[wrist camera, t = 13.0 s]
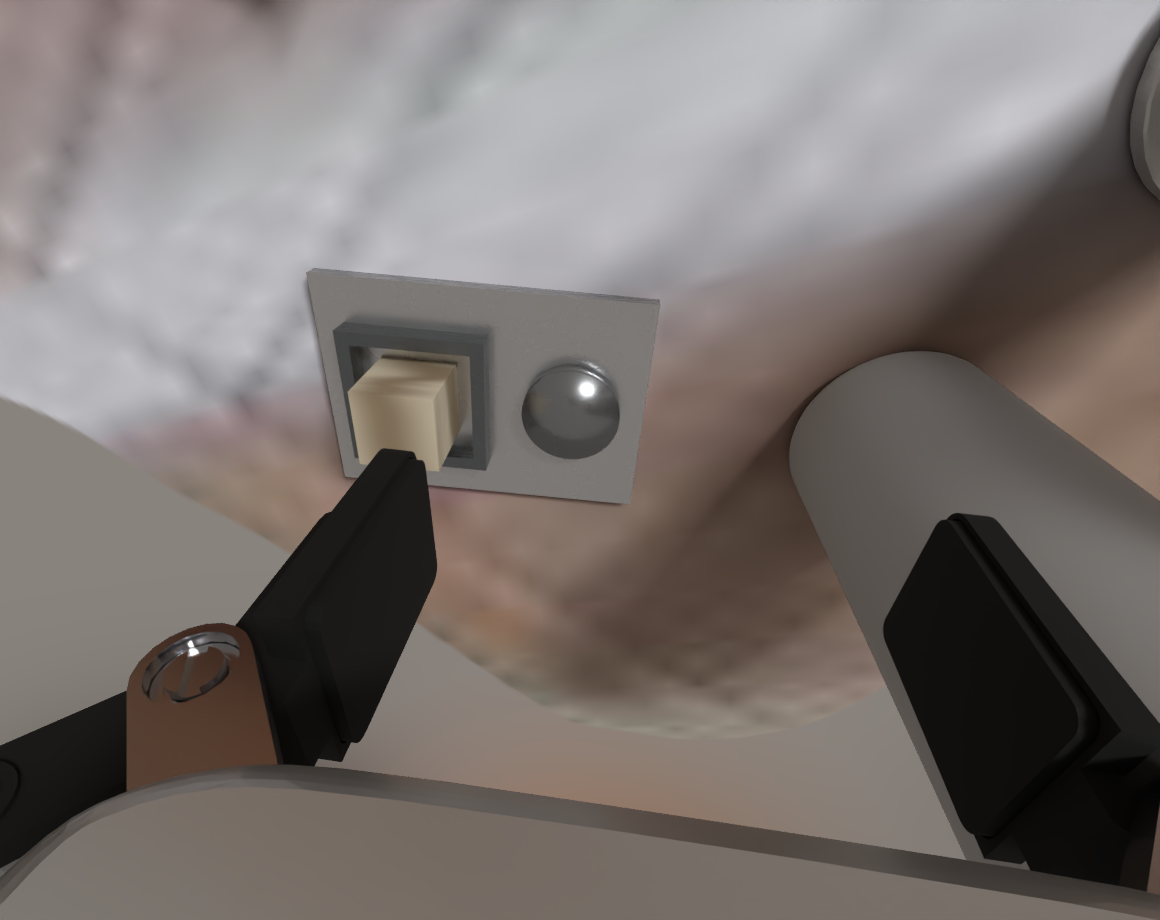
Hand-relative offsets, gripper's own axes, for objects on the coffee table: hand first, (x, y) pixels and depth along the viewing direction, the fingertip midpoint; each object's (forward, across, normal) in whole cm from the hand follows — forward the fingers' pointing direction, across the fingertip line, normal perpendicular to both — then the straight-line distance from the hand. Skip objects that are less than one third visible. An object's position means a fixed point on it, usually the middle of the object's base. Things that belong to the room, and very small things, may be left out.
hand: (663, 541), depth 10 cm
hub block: (+22, +14, +10) cm, 28 cm away
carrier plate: (+23, +10, +10) cm, 27 cm away
